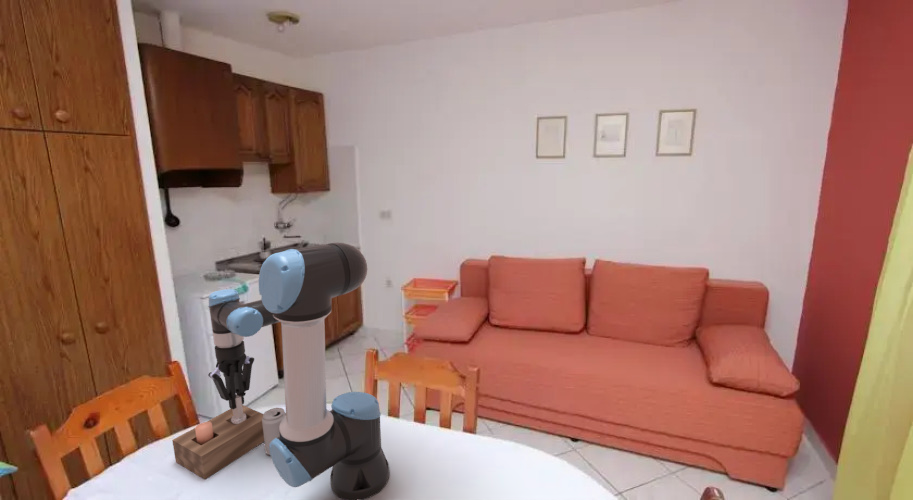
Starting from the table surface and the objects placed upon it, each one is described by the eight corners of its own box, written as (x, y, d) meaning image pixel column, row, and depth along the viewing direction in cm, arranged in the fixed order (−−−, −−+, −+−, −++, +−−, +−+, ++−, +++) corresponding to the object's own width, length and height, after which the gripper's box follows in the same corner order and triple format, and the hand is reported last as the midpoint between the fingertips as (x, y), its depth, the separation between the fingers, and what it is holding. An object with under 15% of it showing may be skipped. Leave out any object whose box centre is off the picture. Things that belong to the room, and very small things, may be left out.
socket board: (270, 436, 125) (268, 416, 124) (204, 479, 108) (201, 456, 106) (242, 423, 132) (239, 403, 130) (175, 462, 114) (172, 439, 113)
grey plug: (251, 432, 124) (248, 415, 123) (238, 440, 121) (236, 422, 120) (242, 429, 126) (240, 411, 125) (230, 436, 123) (228, 418, 122)
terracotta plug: (217, 443, 115) (215, 424, 114) (203, 451, 112) (200, 432, 111) (209, 439, 117) (206, 420, 116) (194, 447, 114) (192, 428, 113)
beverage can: (280, 458, 115) (276, 420, 113) (260, 455, 117) (256, 418, 114) (293, 444, 121) (290, 407, 119) (274, 441, 123) (270, 405, 120)
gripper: (242, 332, 125) (250, 402, 130) (198, 348, 114) (209, 424, 119) (257, 337, 122) (265, 408, 126) (214, 354, 110) (224, 432, 115)
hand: (238, 416), depth 122 cm, fingers closed
